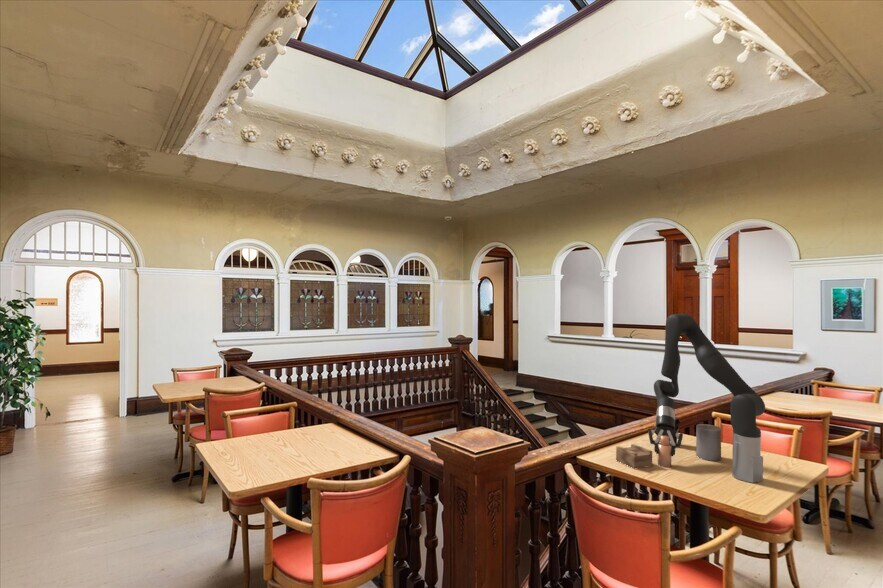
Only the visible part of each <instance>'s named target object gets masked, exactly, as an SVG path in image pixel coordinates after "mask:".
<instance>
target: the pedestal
mask: <svg viewBox="0 0 883 588" xmlns="http://www.w3.org/2000/svg"><path fill="white" fill-rule="evenodd" d="M615 452H616V453H615V455H616V456H615V457H616V458H615V461H616V460H617V461H616V462H618V461H619V462H618V463H620V462H621V463H620V464H622V463H623V464H622V465H624V464H626V465H625V466H627V465H628V466H627V467H629V466H630V468H631V467H632V468H631V469H633V468H637V469H641V467H643V468H647V467H646V466H649V467H652V466H653V450H650V449H648V448H646V447H642V446H640V445H638V444H635V443H631V444H630V447H629V446H628V447H622V446H620V445H617V446H616V449H615Z"/></svg>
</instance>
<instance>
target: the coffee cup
mask: <svg viewBox="0 0 883 588" xmlns="http://www.w3.org/2000/svg"><path fill="white" fill-rule="evenodd" d="M680 423H681V421H680V419H679V418H678V417H676V416H675V431H676V433H679V431H680ZM673 440H674V442H675V443H677V442H678V438H677V436H675V437H674V438H673ZM669 444H670V442H669ZM670 445H671V444H670Z"/></svg>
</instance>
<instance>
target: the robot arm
mask: <svg viewBox="0 0 883 588" xmlns="http://www.w3.org/2000/svg"><path fill="white" fill-rule="evenodd" d="M664 328H665V329H664V332H665V333H664V337H665V338H664V356H663V360H662V365H661V371H660V374H661V375H662V376H663V377H664V378H667V379H670V380H671V381H669V380H664V379H656V381H654V384H653V391H654V394H655V398H656V401H657V404H656V405H657V406H656V413H655V414H656V416H655V427H654V429H651V428H648V429H647V434H648V437H649V443H650V444H651V445H654V449H653V450H654V453H656V455H658V443H660V438H661V435H664V436H669V442H670V444H671V445H672V451H671V456H672V457H674V456H675V455H676V449H679V448H680V449H681V446H682V441H683V438H684V434H683V433H681V432H680V433H679V432H678V433H676V431H675V417H676V415H675V414H676V413H675V401H674V399H673V398H676V397H677V396H678V395H679V394H680V389H679V388H680V387H679V373H680V372H679V371H680V366H681V355H680V354H681V353H680V351H679V341H680V338H681V337H680V336H681V335H684V336H685V337H686V339H688V341H689V342H690V344H691V345H692V347H693V349H694V353H695V357H696V360H697V362H698V364H700V366H701V367H702V368H703V370H704V371H705V372H706V374H708V376H710V377H711V378H712V379H714V380H715V381H717V382H718V383H719V384H721V385H722V386H724V387H725V388H726V389H727V390H728V391H729V392H730V393H731V394H732V395H733V398H732V399H731V401H730V405H729V406H730V408H729V410H730V425H731V427H732V459H731V460H732V463H731V464H732V469H731V470H732V471H731V473H732V474H731V476H732V477H734V479H737V480H740V481H743V482H746V483H747V482H748V483H752V484H754V483H760V482H763V481H764V479H763V476H764V457H763V456H762V455H761V449H762V447H761V446H762V445H761V444H762V441H761V440H762V438H761V437H762V431H761V429H760V428H759V427H757V417H759V416H761V415H763V414H764V413H765V411H766V405H765V402H764V400H763V398H762V397H761V396H760V395H759V394H758V393H757V391H755V390H754V389H753V388H751V386H750V385H749V384H748V383H746V381H745V380H744V379H743V378H742V377H741V376H740V375H739V373H738V372H737V371H736V370H735V368H734V367H733V366H732V365H731V364H730V363H729V361H728V360H727V359H726V358H725V356H723V354H722V353H721V352H720V351H719V350H718V349H717V347H716V346H715V344H713V343H712V341H711V340H710V339H709V338H708V337H707V336H706V334H705V333H704V331H702V329H701V327H700V326H699V324H698V323H697V321H696V320H695V318H694V317H693V316H691V315H690V314H688V313H673V314H671V315H669V316H667V318H666V321H665V327H664ZM654 434H655V435H656V438H655V439H654V437H653V436H654ZM675 436H677V438H678V439H677V443H675V442H674V440H673V438H674V437H675Z"/></svg>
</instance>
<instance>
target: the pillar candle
mask: <svg viewBox="0 0 883 588" xmlns="http://www.w3.org/2000/svg"><path fill="white" fill-rule="evenodd" d="M695 428H696V429H695V430H696V432H695V435H696V436H695V439H696V440H695V441H696V442H695V445H696V446H695V450H696V451H695V453H696V454H695V456H696V457H697V456H698V457H699V459H700V458H702V459H701V460H704V459H706V460H705V461H709V460H711V462H718V460H719V461H722V427H720V426H717V425H713V424H705V423H699V424H696V427H695ZM698 457H697V458H698Z"/></svg>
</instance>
